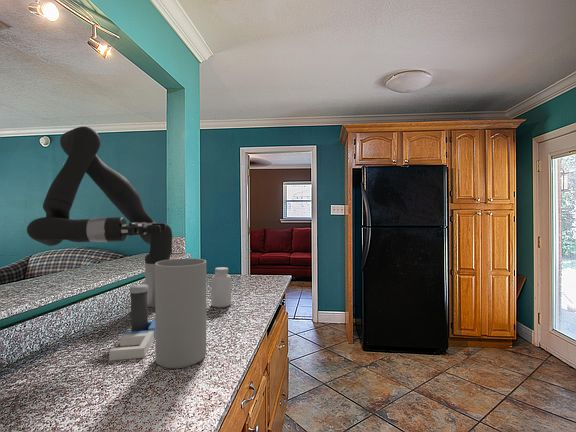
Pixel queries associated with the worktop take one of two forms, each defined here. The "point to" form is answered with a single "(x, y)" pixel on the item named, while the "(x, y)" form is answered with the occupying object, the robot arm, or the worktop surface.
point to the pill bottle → (221, 288)
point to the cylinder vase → (180, 312)
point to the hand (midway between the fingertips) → (162, 227)
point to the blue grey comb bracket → (134, 339)
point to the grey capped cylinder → (139, 308)
